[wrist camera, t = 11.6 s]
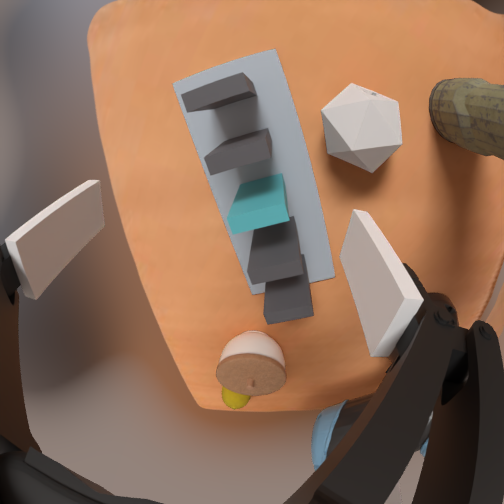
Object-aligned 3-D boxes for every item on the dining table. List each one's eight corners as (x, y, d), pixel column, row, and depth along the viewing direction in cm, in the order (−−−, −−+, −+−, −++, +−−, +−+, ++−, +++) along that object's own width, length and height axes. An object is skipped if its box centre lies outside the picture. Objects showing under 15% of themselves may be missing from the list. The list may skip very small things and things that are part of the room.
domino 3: (297, 227, 34) (303, 273, 26) (258, 236, 35) (252, 285, 27) (293, 215, 33) (300, 259, 25) (254, 225, 34) (246, 271, 26)
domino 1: (257, 95, 26) (249, 90, 18) (213, 109, 28) (187, 112, 19) (252, 82, 26) (242, 72, 17) (209, 96, 27) (180, 94, 18)
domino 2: (272, 141, 29) (271, 157, 20) (229, 153, 30) (210, 175, 22) (268, 127, 28) (265, 138, 20) (225, 140, 29) (203, 157, 21)
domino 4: (306, 263, 37) (313, 315, 28) (270, 271, 38) (267, 324, 29) (303, 253, 36) (311, 304, 27) (266, 262, 37) (263, 314, 28)
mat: (334, 275, 38) (335, 277, 37) (252, 293, 40) (252, 294, 40) (275, 49, 24) (275, 48, 24) (173, 83, 26) (172, 83, 26)
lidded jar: (293, 354, 47) (295, 398, 39) (239, 365, 50) (233, 407, 42) (272, 313, 42) (271, 361, 34) (212, 328, 45) (200, 373, 37)
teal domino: (285, 185, 32) (289, 220, 23) (244, 196, 33) (232, 234, 24) (281, 172, 31) (284, 203, 22) (240, 184, 32) (226, 218, 23)
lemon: (219, 371, 51) (212, 405, 44) (241, 364, 49) (236, 399, 42) (236, 384, 53) (232, 417, 46) (258, 377, 51) (255, 411, 44)
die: (398, 135, 28) (420, 87, 19) (378, 194, 28) (402, 157, 18) (336, 109, 30) (339, 56, 21) (311, 164, 30) (307, 118, 20)
